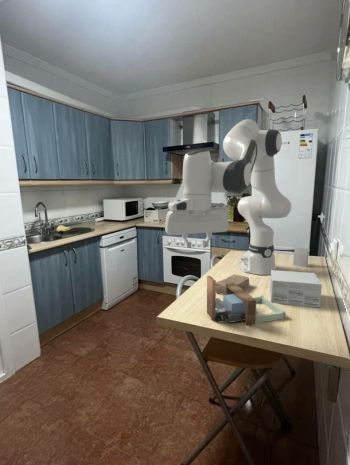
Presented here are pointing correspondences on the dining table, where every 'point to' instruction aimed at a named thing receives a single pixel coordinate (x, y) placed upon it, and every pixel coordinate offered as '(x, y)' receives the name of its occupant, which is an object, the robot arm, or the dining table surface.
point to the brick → (237, 279)
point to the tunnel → (250, 301)
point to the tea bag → (300, 257)
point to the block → (234, 303)
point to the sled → (219, 304)
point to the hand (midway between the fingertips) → (197, 246)
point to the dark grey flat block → (219, 319)
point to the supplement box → (295, 288)
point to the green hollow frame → (270, 316)
